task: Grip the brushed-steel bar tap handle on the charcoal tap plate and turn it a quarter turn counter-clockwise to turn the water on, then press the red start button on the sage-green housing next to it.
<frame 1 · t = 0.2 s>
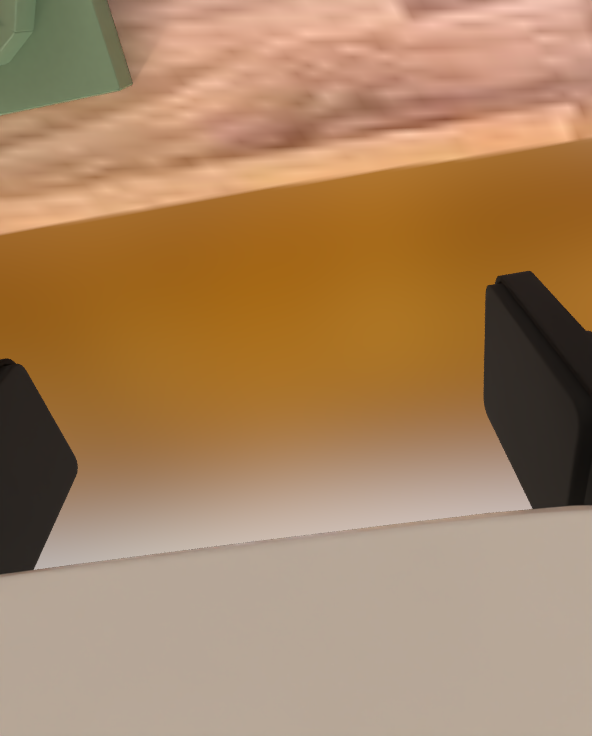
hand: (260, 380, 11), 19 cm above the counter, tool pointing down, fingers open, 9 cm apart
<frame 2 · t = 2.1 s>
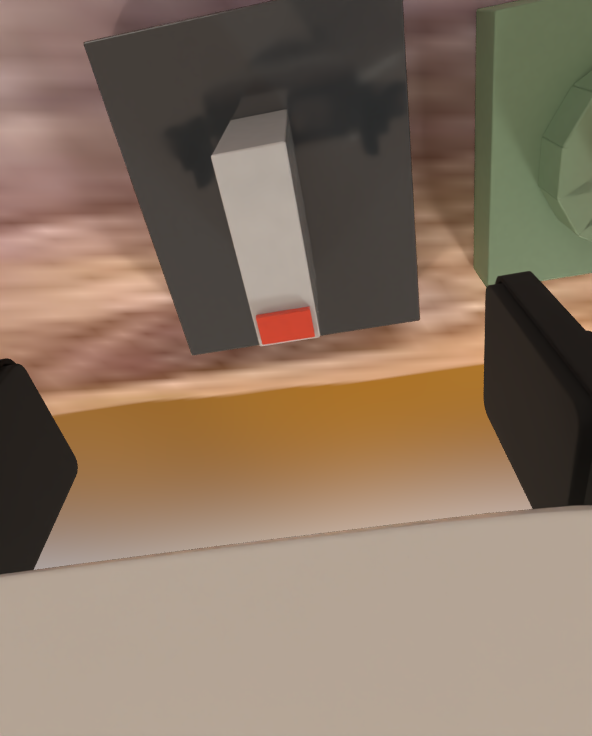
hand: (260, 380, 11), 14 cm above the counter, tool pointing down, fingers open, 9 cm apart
tap plate: (278, 179, 22), on the counter
tap handle: (273, 227, 17), point 6 cm above the counter, hinge at 0.0°
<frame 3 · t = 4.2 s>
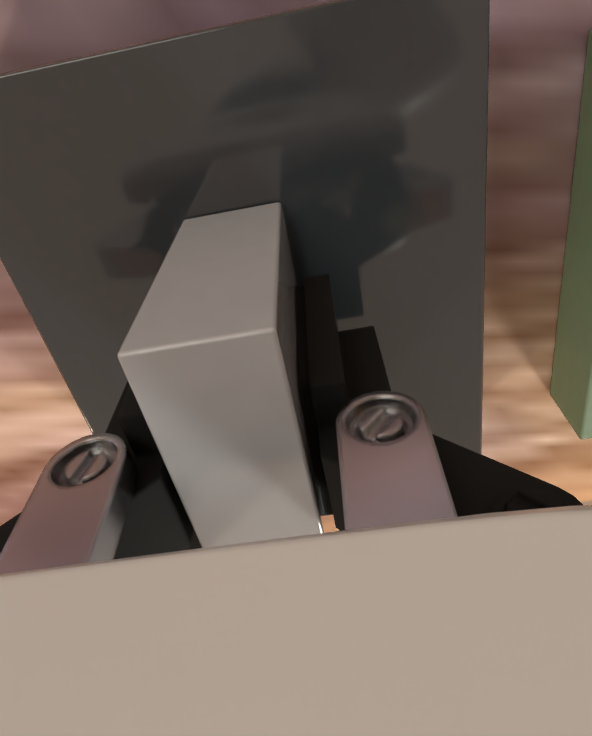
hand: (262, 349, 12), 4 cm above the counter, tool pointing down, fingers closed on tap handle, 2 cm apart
tap plate: (267, 281, 15), on the counter
tap handle: (258, 410, 10), point 6 cm above the counter, hinge at 0.0°, touching gripper
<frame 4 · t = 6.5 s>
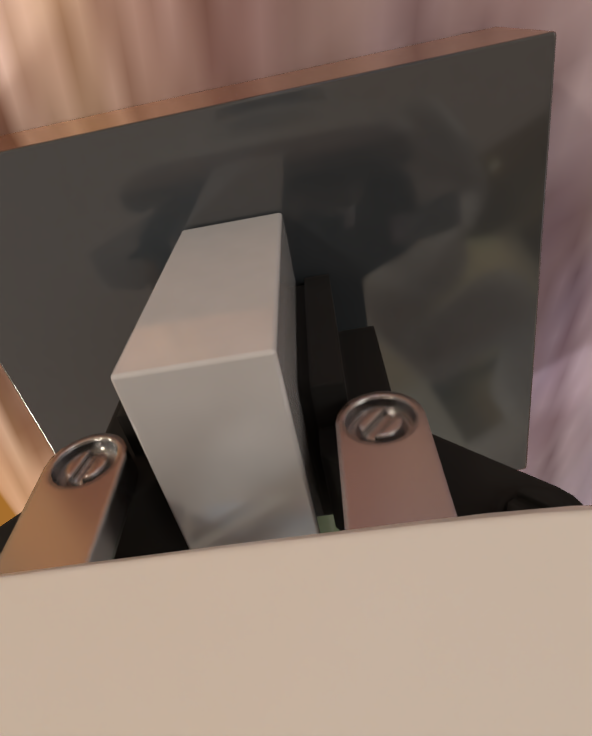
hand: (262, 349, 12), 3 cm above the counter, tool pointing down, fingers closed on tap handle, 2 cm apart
tap plate: (268, 290, 14), on the counter
tap handle: (258, 426, 10), point 6 cm above the counter, hinge at 89.5°, touching gripper
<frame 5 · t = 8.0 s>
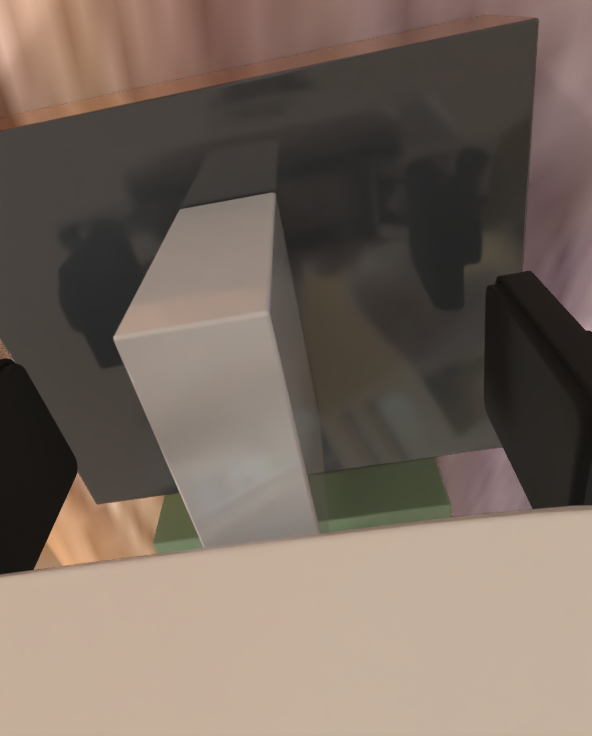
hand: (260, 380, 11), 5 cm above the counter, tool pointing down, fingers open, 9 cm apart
tap plate: (262, 273, 15), on the counter
tap handle: (252, 397, 10), point 6 cm above the counter, hinge at 89.6°
button box: (318, 559, 22), on the counter
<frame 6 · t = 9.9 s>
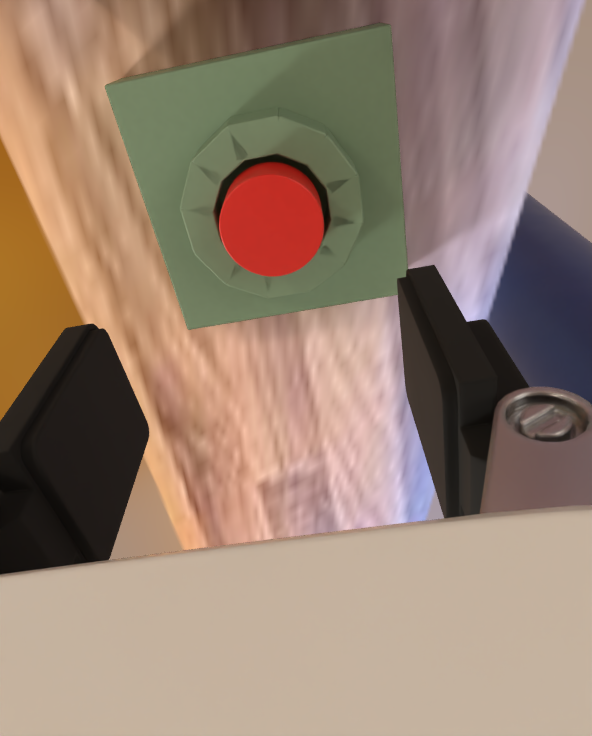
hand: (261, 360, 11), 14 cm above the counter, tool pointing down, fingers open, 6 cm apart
start button: (272, 220, 19), point 4 cm above the counter, slide at 0.1 cm
button box: (274, 185, 23), on the counter
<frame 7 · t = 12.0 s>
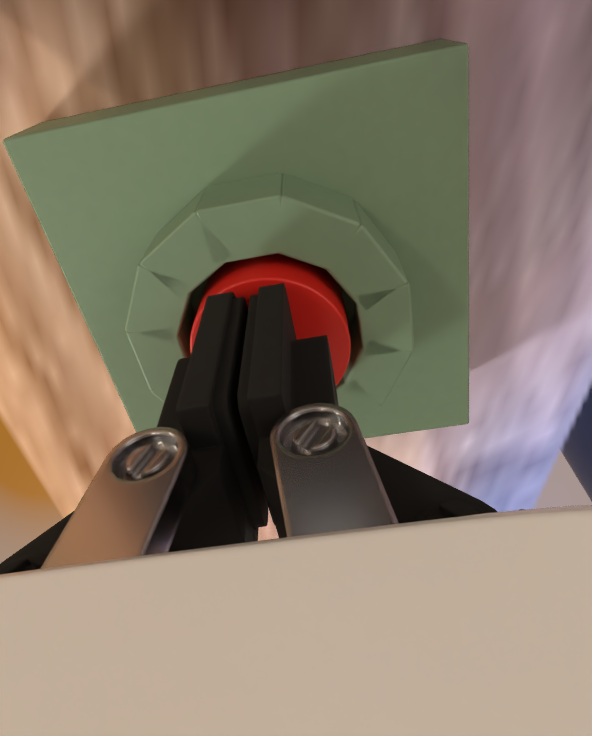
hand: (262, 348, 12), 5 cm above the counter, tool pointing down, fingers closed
start button: (271, 332, 13), point 4 cm above the counter, slide at -0.8 cm, touching gripper
button box: (275, 271, 16), on the counter
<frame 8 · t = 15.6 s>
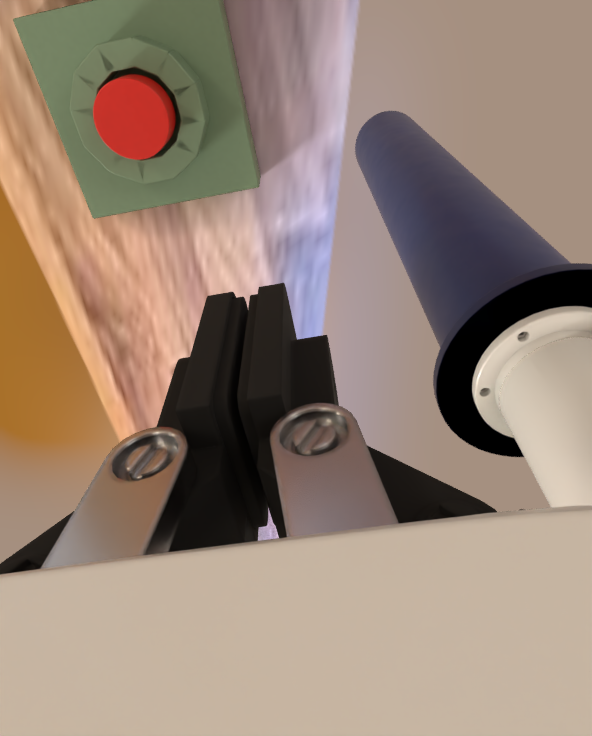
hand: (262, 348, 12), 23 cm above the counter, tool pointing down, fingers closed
start button: (135, 117, 26), point 4 cm above the counter, slide at 0.1 cm
button box: (154, 103, 30), on the counter
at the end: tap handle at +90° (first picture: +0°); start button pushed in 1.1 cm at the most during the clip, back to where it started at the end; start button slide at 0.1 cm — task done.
